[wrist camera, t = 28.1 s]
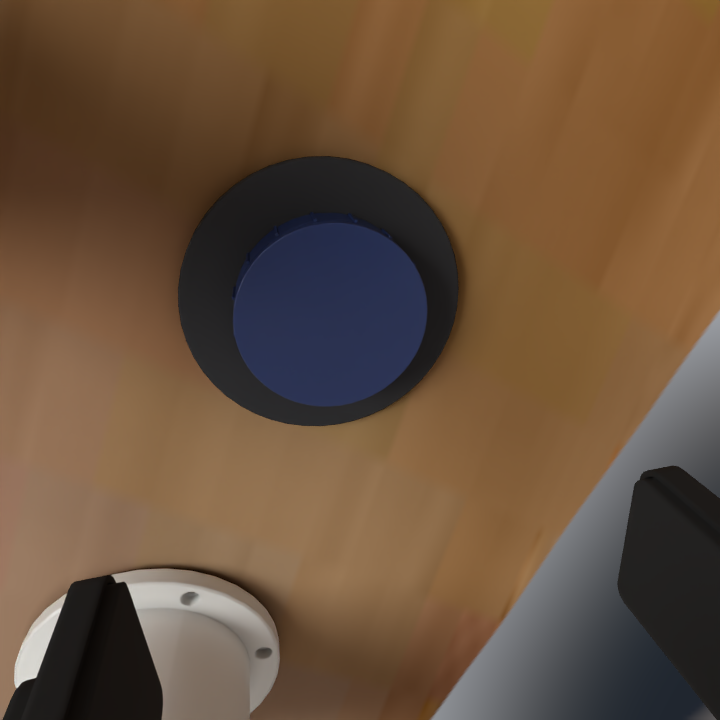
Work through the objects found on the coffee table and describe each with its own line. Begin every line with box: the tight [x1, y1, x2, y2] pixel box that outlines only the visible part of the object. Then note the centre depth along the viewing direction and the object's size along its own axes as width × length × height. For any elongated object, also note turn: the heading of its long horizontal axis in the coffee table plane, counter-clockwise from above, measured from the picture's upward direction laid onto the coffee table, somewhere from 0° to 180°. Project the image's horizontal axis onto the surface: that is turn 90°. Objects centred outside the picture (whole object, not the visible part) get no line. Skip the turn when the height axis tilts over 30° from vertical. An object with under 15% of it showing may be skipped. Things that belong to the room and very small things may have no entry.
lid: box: [232, 212, 427, 406], centre depth 20 cm, size 7×7×2 cm
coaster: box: [178, 156, 458, 426], centre depth 22 cm, size 11×11×1 cm
